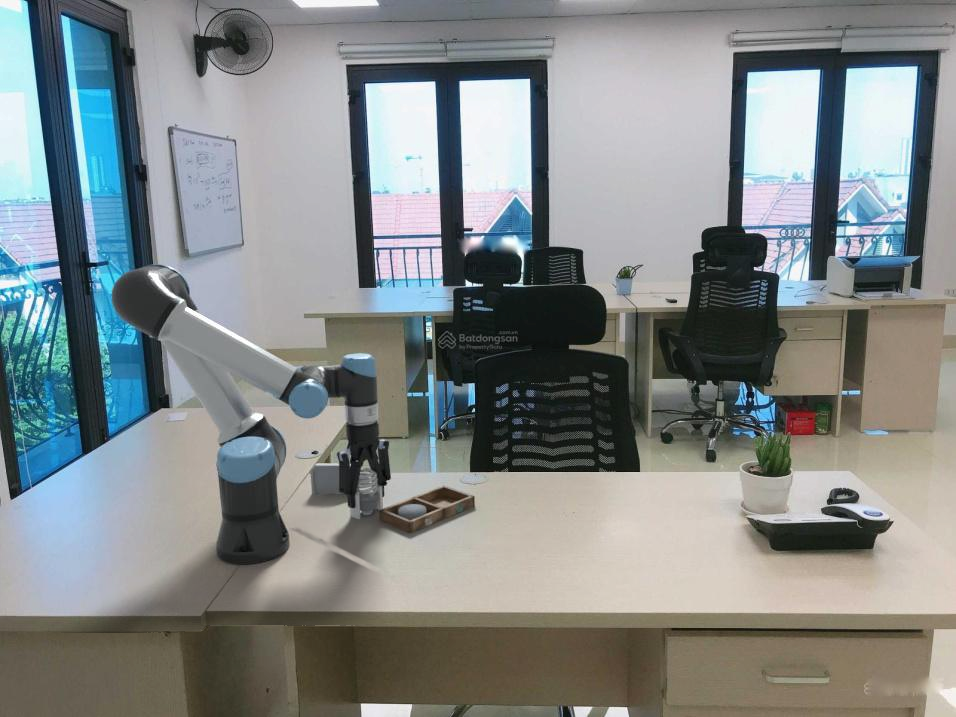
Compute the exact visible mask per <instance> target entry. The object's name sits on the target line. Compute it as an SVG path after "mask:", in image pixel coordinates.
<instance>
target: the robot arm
mask: <svg viewBox="0 0 956 717" xmlns="http://www.w3.org/2000/svg"><path fill="white" fill-rule="evenodd" d="M189 285H190V284H189V283H188V281H187V279H186V278H185V276H184V275H183V274H182V272H180V271H179V270H177V269H175V268H173V267H171V266H169V265H165V264H148V265H145V266H142V267H140V268H137V269H136V268H135V269H132V270H129V271H126V272H125V273H123V274H122V275H120V276H119V277H118V278H117V279H116V281H115V283H114V285H113V287H112V289H111V294H110V295H111V296H110V297H111V303H112V307H113V309H114V311H115V313H116V314H117V315H118V317H120V319H121V320H122V321H124V322H125V323H127V324H128V325H129V326H132V328H134V329H136V330H138V331H139V332H142V333H143V334H145V335H147V336H148V337H149V338H151V339H155V340H157V341H160V342H161V343H162V344H163V346H164V349H165V350H166V351H167V352H168V354H169V356H170V357H171V359H172V360H173V361H174V363H175V366H177V368H178V370H179V371H180V373H181V374H182V376H183V378H184V379H185V380H186V382H187V384H188V385H189V387H190V389H191V390H192V391H193V393H194V395H195V396H196V398H197V399H198V401H199V403H200V404H201V405H202V407H203V408H204V411H205V412H206V413H207V415H208V416H209V418H210V420H211V421H212V423H213V424H214V426H215V427H216V428H217V430H218V436H217V444H218V445H219V447H220V448H219V449H218V451H217V454H216V471H217V478H218V487H219V498H220V506H221V507H220V508H221V517H222V518H221V523H220V527H219V530H218V535H217V538H216V543H215V547H216V556H217V558H218V559H219V560H221V561H223V562H224V563H228V564H232V565H233V564H234V565H250V564H259V563H262V562H266V561H271V560H272V559H275V558H277V557H279V556H281V555H282V554H284V553H285V552H286V551H287V550H288V549H289V548H290V543H291V542H290V534H289V531H288V529H287V526H286V524H285V522H284V519H283V517H282V516H281V513H280V511H279V499H278V496H279V495H278V485H277V484H278V483H277V481H278V476H279V474H280V472H281V469H282V467H283V466H284V464H285V461H286V457H287V444H286V441H285V438H284V436H283V434H282V433H281V431H280V430H279V429H277V428H276V427H275V426H273V425H270V423H269V421H268V420H267V418H266V417H265V414H263V413H260V412H256V411H254V409H252V407H251V405H250V404H249V402H248V400H247V399H246V398H245V396H244V394H243V392H242V391H241V390H240V388H239V386H238V385H237V382H236V381H235V380H234V378H233V376H235V377H236V378H238V379H240V380H243V381H244V382H245V383H247V384H250V385H251V386H253V387H255V388H257V389H258V390H261V391H263V392H265V393H266V394H268V395H270V396H271V397H274V398H275V399H278V400H279V401H281V402H283V403H285V405H288V406H289V408H290V409H291V411H292V412H293V413H294V415H296V417H299V418H301V419H305V420H306V419H313V418H315V417H319V415H320V414H322V412H323V411H324V410H325V409H326V407H327V406H328V402H329V399H333V398H334V399H335V398H336V399H339V398H344V416H345V417H344V418H345V421H346V424H345V432H346V438H347V446H346V449H345V450H343V451H338V452H336V456H337V459H338V464H339V492H340V493H343V494H342V495H346V497H347V507H348V508H349V509H350V512H349V513H350V517H351V518H353V519H355V520H361V511H360V501H359V494H357V493H356V491H357V486H358V481H359V476H360V473H361V472H360V471H361V468H362V467H364V462H366V461H367V462H368V465H369V469H371V470H373V471H375V472H376V474H377V479H378V480H377V483H378V485H377V490H376V492H375V493H376V494H377V496H378V505H377V507H376V508H375V509H374V510H377V511H380V510H381V509H383V508H384V502H383V501H384V500H383V499H384V497H385V486H387V485H388V481H390V480H392V477H391V476H392V474H391V467H390V466H391V465H390V464H391V463H390V457H389V455H390V454H389V446H390V441H388V440H386V439H384V438H379V436H380V422H379V420H378V419H379V403H378V376H377V367H376V366H377V365H376V359H375V357H374V356H373V355H372V354H369V353H363V352H362V353H361V352H359V353H353V354H352V353H349V354H346V355H344V356H343V357H342V360H341V363H339V364H323V365H318V364H317V365H306V364H305V365H302V366H301V365H300V366H294V365H292V364H290V363H289V362H287V361H285V360H283V359H282V358H280V357H277V356H276V355H274V354H272V353H270V352H269V351H267V350H265V349H263V348H262V347H260V346H258V345H256V344H254V343H253V342H251V341H249V340H247V339H245V338H244V337H243V336H240V335H239V334H236V333H235V332H233V331H231V330H229V329H227V328H226V327H224V326H222V325H220V324H218V323H216V322H215V321H213V320H211V319H209V318H208V317H206V316H204V315H202V314H201V313H199V308H198V306H196V304H195V303H194V301H193V299H192V298H191V295H190V294H191V292H190V286H189ZM232 375H233V376H232ZM350 464H351V466H350ZM373 475H374V474H373ZM373 490H374V489H373ZM373 490H372V491H373Z"/></svg>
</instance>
